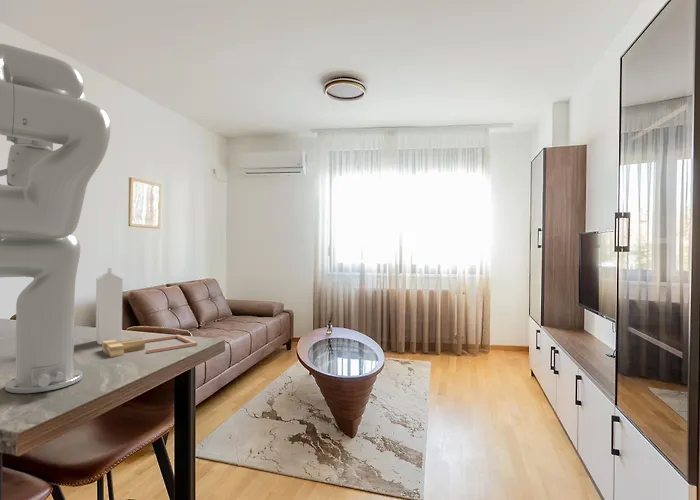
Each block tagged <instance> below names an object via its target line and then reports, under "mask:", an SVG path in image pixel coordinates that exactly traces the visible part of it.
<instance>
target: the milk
mask: <svg viewBox="0 0 700 500" xmlns="http://www.w3.org/2000/svg"><path fill="white" fill-rule="evenodd" d="M95 285H96V288H95V289H96V291H95V294H96V296H95V298H96V299H95V301H96V302H95V303H96V304H95V308H96V309H95V342H96V343H97V344H98V345H102V341H108V340H116V341H123V285H124V284H123V278H122V277H120V276H118V275H115V274H114V273H112V268H111V267H109V266H108V267H107V271H106V273H104V274H102V275H99V276H98V277H97V278H96V284H95Z"/></svg>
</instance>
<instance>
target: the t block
mask: <svg viewBox="0 0 700 500" xmlns="http://www.w3.org/2000/svg"><path fill="white" fill-rule="evenodd" d="M144 339H145V338H134V339H126V340H122V341H116V340H108V341H102V344H101V350H102V352H103V353H105V354H106V355H107V356H109V357H110V358H113V357H119V356H124V355H125V353H127V352H134V351H135V352H136V351H139V350H140V351H141V350H145V349H146V348H145V347H146V343H145V340H144Z"/></svg>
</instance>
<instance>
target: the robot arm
mask: <svg viewBox="0 0 700 500" xmlns="http://www.w3.org/2000/svg"><path fill="white" fill-rule="evenodd" d="M84 87H85V86H84V81H83V78H82V75H80V73H79V72H78V70H77V69H76V68H75V67H73V66H72V65H71V64H70V63H68V62H66V61H63V60H62V59H59V58H57V57H56V58H55V57H53V56H49V55H45V54H43V53H39V52H35V51H31V50H27V49H24V48H21V47H18V46H15V45H10V44H6V43H5V44H4V43H0V135H1V136H6V141H8V142H11V143H12V144H13V145H10V147H9V151H8V157H7V164H6V165H7V166H6V168H4V169H0V177H4V176H6V184H0V278H24V277H25V278H33V279H32V281H31V282H30V283H29V284H27V286H25V287H24V288H23V290H22V291H21V292H20V293H19V295H18V296H17V299H16V304H15V305H16V306H15V314H16V315H15V377H12V378H10V379H9V380H8V381H6V382H5V384H4V390H5V391H6V392H9V393H12V394H33V393H34V394H35V393H43V392H50V391H53V390H54V391H55V390H58V389H61V388H62V389H63V388H65V387H69V386H71V385H74V384H76V383H78V382H79V381H81V380H82V378H83V371H82V370H80V369H75V367H74V366H75V365H74V364H75V363H74V362H75V361H74V360H75V303H76V302H75V294H76V293H75V292H76V280H77V279H76V278H77V273H78V266H79V263H80V262H79V261H80V257H81V256H80V255H81V244H80V241H79V240H78V238H77V237H76V236H75V235H73V233H74V232H75V231H76V229H77V227H78V225H79V221H80V217H81V215H82V214H81V213H82V209H83V206H84V205H83V204H84V199H85V195H86V192H87V191H86V190H87V187H88V184H89V182H90V180H91V179H92V177H93V175H94V174H95V172H96V171H97V169H98V168H99V167H100V165H101V164H102V162H103V160H104V158H105V155H106V153H107V150H108V147H109V146H108V145H109V143H110V137H111V121H110V117H109V116H108V114H107V113H106V111H105V110H104V109H102V108H101V107H100V106H98V105H96V104H94V103H92V102H90V101H88V100H87V96H86V93H85V92H84ZM54 144H57V145H62V146H60V147H59V148H58V149H57V148H56V150H54Z"/></svg>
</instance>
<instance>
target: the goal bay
mask: <svg viewBox="0 0 700 500" xmlns="http://www.w3.org/2000/svg"><path fill="white" fill-rule="evenodd" d="M143 339H144V340H145V344H146V343H152V342H159V341H165V340H166V341H167V340H173V339H178V340H180V341H182V342H184V343H180V344H179V343H178V344H174V345H168V346H162V347H154V348H149V349H148V348H147V349H146V351H145V353H146V354H150V353H151V354H152V353H153V354H154V353H157V352H165V351H169V350H177V349H182V348H187V347H193V346H194V347H195V346H198V342H197V341H195V340H192V339H190V338H188V337H186V336H183V335H181V334H173V335H168V336H166V335H165V336H160V337H152V338H143Z"/></svg>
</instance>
